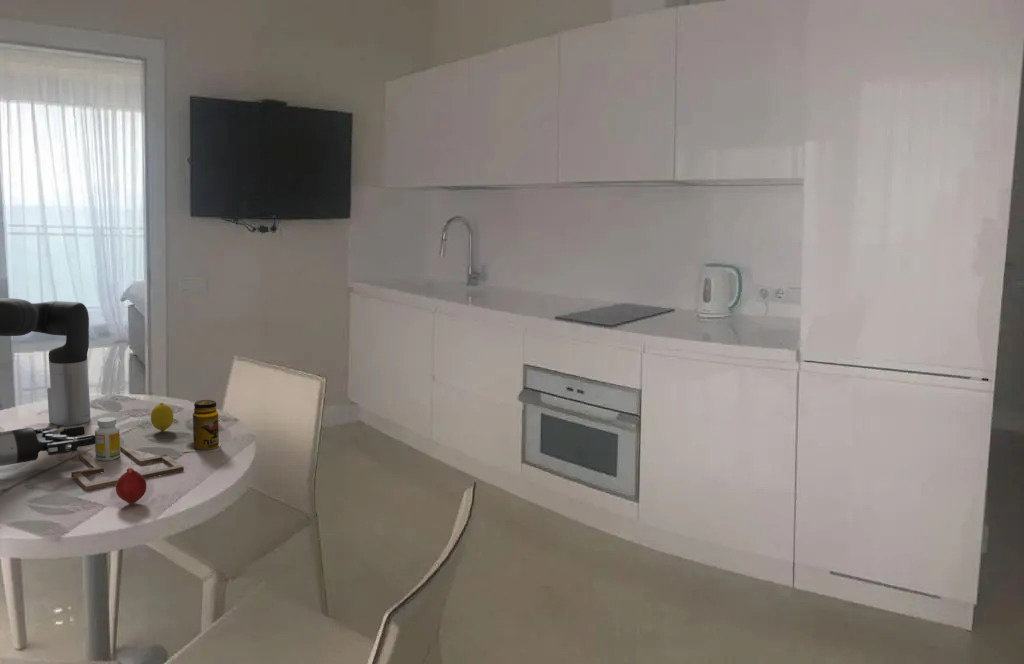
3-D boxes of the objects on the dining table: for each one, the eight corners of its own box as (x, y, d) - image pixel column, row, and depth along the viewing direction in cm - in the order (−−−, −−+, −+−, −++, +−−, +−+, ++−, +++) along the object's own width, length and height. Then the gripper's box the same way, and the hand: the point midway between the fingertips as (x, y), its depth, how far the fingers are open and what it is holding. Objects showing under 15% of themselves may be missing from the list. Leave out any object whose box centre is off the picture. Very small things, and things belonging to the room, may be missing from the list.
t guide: (55, 461, 192) (55, 457, 192) (147, 445, 206) (147, 441, 206) (86, 490, 175) (86, 486, 175) (183, 470, 190) (183, 466, 189)
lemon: (177, 429, 220) (176, 400, 219) (167, 435, 215) (166, 406, 213) (158, 427, 221) (157, 399, 219) (147, 433, 215) (146, 404, 214)
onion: (123, 498, 172) (121, 462, 171) (151, 498, 173) (149, 462, 171) (112, 509, 166) (110, 472, 165) (141, 509, 167) (139, 472, 166)
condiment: (218, 451, 204) (217, 405, 202) (182, 452, 202) (181, 406, 200) (222, 442, 211) (221, 397, 209) (187, 443, 209) (186, 398, 207)
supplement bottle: (95, 462, 193) (93, 423, 191) (96, 455, 198) (94, 417, 196) (120, 459, 195) (118, 421, 193) (120, 452, 200) (119, 415, 198)
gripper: (17, 439, 176) (98, 426, 187) (2, 423, 186) (79, 412, 197) (20, 472, 177) (99, 457, 188) (5, 454, 187) (81, 441, 198)
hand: (89, 434), depth 193 cm, fingers open, 8 cm apart
